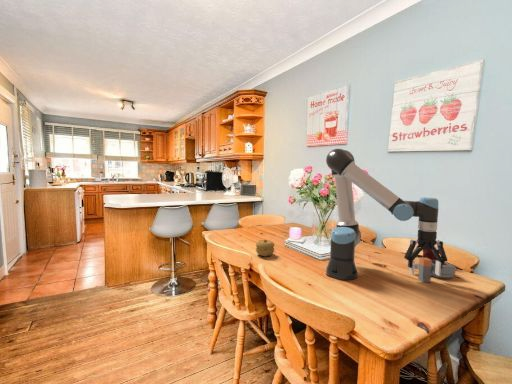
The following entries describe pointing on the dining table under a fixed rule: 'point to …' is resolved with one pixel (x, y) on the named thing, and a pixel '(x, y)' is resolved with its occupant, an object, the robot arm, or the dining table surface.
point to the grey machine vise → (446, 270)
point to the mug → (429, 254)
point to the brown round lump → (265, 247)
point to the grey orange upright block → (424, 270)
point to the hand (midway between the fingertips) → (424, 274)
